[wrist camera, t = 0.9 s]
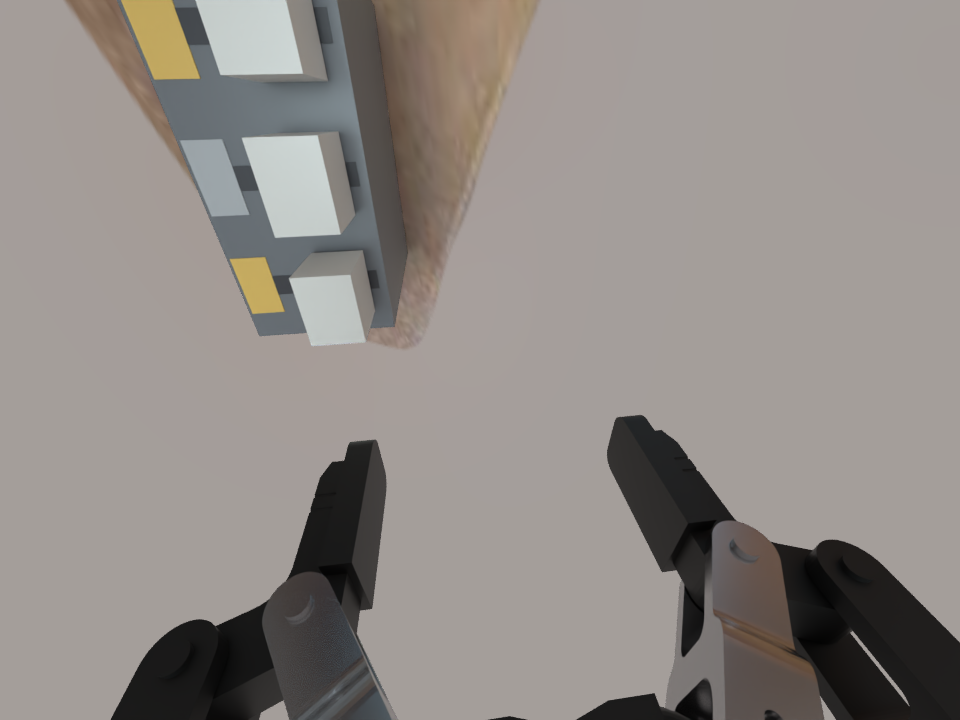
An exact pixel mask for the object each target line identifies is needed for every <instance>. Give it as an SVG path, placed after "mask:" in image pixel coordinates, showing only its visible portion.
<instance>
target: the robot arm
mask: <svg viewBox="0 0 960 720" xmlns="http://www.w3.org/2000/svg"><path fill="white" fill-rule="evenodd" d="M607 458H608V464H609V467H610V469H611V471H612V473H613V475H614V477H615V479H616V481H617V483H618V485H619V487H620V489H621V491H622V493H623V495H624V497H625V499H626V501H627V503H628V505H629V507H630V509H631V511H632V513H633V515H634V517H635V519H636V521H637V523H638V525H639V527H640V529H641V531H642V533H643V535H644V537H645V539H646V541H647V543H648V545H649V547H650V549H651V551H652V553H653V555H654V557H655V559H656V561H657V563H658V565H659V567H660V569H661V571H662V572H667V571H673V570H677V571H678V573H679V575H680V577H681V579H682V581H681V583H680V587H679V602H678V619H677V632H676V648H675V660H674V665H673V669H672V672H671V675H670V678H669V683H668V688H667V695H666V708H664V707H660V706H659V704H658V701H657V699H656V696H655V694H654V693H653V694H647V695H641V696H634V697H628V698H622V699H615V700H609V701H607V702H605V703H604V704H602V705H600V706H598V707H597V708H596V709H593V710H592V711H590V712H588V713H587V714H585V715H583V716H582V717H580V718H578V719H577V720H824V715H823V710H822V704H821V699H820V696H821V698H822V699H823V701H824V702H825V703H826V705H827V707H828V708H829V710H830V711H831V712H832V714H833V715H834V717H835V719H836V720H960V642H959V641H958V640H957V639H956V638H955V637H953V635H952V634H951V633H950V632H949V631H948V630H947V629H946V628H945V627H944V626H943V625H942V624H941V623H940V622H939V621H938V620H937V619H936V618H935V617H934V616H933V615H931V613H930V612H929V611H928V610H927V609H926V608H925V607H924V606H923V605H922V604H921V603H920V602H919V601H918V600H917V599H916V598H915V597H914V596H913V595H912V594H911V593H910V592H909V591H908V590H907V589H906V588H905V587H904V586H903V585H902V584H901V583H900V582H899V581H898V580H897V579H896V578H895V577H894V576H893V575H892V574H891V573H890V572H889V571H888V570H887V569H886V568H885V567H884V566H883V565H882V564H881V563H880V562H879V561H878V560H876V559H875V558H874V557H872V556H871V555H870V554H868V553H866V552H865V551H863V550H861V549H860V548H858V547H856V546H854V545H851V544H849V543H846V542H843V541H839V540H825V541H822V542H821V543H819V545H818V546H817V547H816V548H815V549H814V550H808V549H803V548H798V547H792V546H787V545H783V544H777V543H773V542H770V541H769V540H768V539H767V538H766V537H765V536H764V535H763V534H762V533H760V532H759V531H757V530H756V529H754V528H752V527H750V526H749V525H746V524H744V523H741V522H737V521H736V520H735V519H734V518H733V516H732V515H731V514H730V513H729V511H728V510H727V508H726V507H725V506H724V505H723V503H722V502H721V500H720V499H719V498H718V497H717V495H716V494H715V492H714V491H713V490H712V488H711V487H710V486H709V484H708V483H707V482H706V480H705V479H704V478H703V476H702V475H701V474H700V472H699V471H697V470H696V467H695V466H694V464H693V463H692V461H691V460H690V459H688V457H687V455H686V453H685V452H684V451H683V449H682V448H681V447H680V445H679V444H678V443H677V442H676V441H675V440H674V439H672V438H671V437H670V436H668V435H667V434H666V433H664V432H663V431H662V430H658V431H655V430H654V429H653V428H652V426H651V425H650V423H649V422H648V421H647V419H646V418H645V417H644V416H642V415H636V416H627V417H618V418H616V420H615V422H614V426H613V430H612V434H611V438H610V442H609V446H608V450H607ZM385 497H386V474H385V469H384V465H383V462H382V458H381V454H380V450H379V447H378V443H377V441H376V440H367V441H357V442H350V443H349V445H348V448H347V453H346V457H345V460H344V461H338V462H332V463H331V464H330V465H329V467H328V468H327V469H326V471H325V472H324V473H323V475H322V476H321V477H320V480H319V483H318V486H317V490H316V493H315V498H314V499H313V503H312V506H311V512H310V513H309V516H308V519H307V522H306V526H305V529H304V532H303V536H302V539H301V542H300V545H299V548H298V552H297V555H296V558H295V562H294V565H293V568H292V570H291V573H290V575H289V577H288V579H287V580H286V582H284V583H283V584H282V585H281V586H279V587H278V588H277V590H276V591H275V592H274V593H273V594H272V596H271V597H270V599H269V600H268V601H267V602H265V603H263V604H262V605H260V606H258V607H256V608H255V609H253V610H250V611H249V612H246V613H244V614H241V615H239V616H237V617H235V618H233V619H230V620H228V621H226V622H224V623H222V624H220V625H217V626H214V625H213V624H212V623H211V622H209V621H207V620H200V619H199V620H192V621H188V622H186V623H183V624H181V625H179V626H178V627H176V628H174V629H172V630H171V631H169V632H168V633H167V634H166V635H164V636H163V637H162V638H161V639H160V640H159V641H158V642H157V643H155V645H154V646H153V647H152V648H151V649H150V650H149V651H148V653H147V654H146V656H145V657H144V658H143V660H142V662H141V663H140V665H139V667H138V669H137V671H136V672H135V675H134V676H133V678H132V680H131V682H130V684H129V686H128V688H127V690H126V692H125V693H124V695H123V697H122V699H121V701H120V703H119V705H118V707H117V708H116V710H115V712H114V714H113V716H112V718H111V720H259V717H260V713H261V712H263V711H264V710H266V709H268V708H270V707H272V706H274V705H275V704H277V703H279V702H281V701H283V700H284V703H285V706H286V710H287V713H288V717H289V720H398V719H397V717H396V715H395V713H394V711H393V709H392V707H391V705H390V703H389V701H388V698H387V696H386V694H385V692H384V690H383V688H382V686H381V684H380V681H379V679H378V677H377V675H376V673H375V671H374V669H373V667H372V665H371V662H370V660H369V658H368V656H367V654H366V652H365V650H364V648H363V645H362V643H361V641H360V639H359V637H358V635H357V627H358V620H359V613H360V610H366V609H372V605H373V597H374V589H375V581H376V572H377V564H378V556H379V546H380V539H381V531H382V522H383V514H384V505H385ZM852 631H853V632H854V633H855V634H856V635H857V636H858V638H859V639H860V640H861V641H862V643H863V644H864V645H865V646H866V647H867V649H868V650H869V651H870V652H871V654H872V655H873V656H874V657H875V659H876V660H877V661H878V662H879V664H880V665H881V666H882V667H883V669H884V670H885V671H886V672H887V673H888V675H889V676H890V677H891V678H892V680H893V681H894V682H895V683H896V684H897V686H898V687H899V688H900V690H901V691H902V692H903V694H904V695H905V697H906V699H907V701H908V703H909V705H910V707H909V706H908V704H907V703H906V702H905V701H904V700H903V698H902V697H901V696H900V695H899V693H898V692H897V691H896V690H895V688H894V687H893V686H892V685H891V683H890V682H889V681H888V680H887V678H886V677H885V676H884V675H883V673H882V672H881V671H880V670H879V668H878V667H877V666H876V665H875V663H874V662H873V661H872V660H871V659H870V657H869V656H868V655H867V653H865V651H864V650H863V648H862V647H861V646H860V645H859V644H858V642H857V641H856V640H855V638H854V637H853V636H852V635H851V634H850V632H852ZM490 720H526V719H520V718H516V717H511V716H508V717H502V718H496V719H490Z"/></svg>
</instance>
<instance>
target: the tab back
mask: <svg viewBox="0 0 960 720" xmlns="http://www.w3.org/2000/svg"><path fill="white" fill-rule="evenodd" d="M289 280H290V283H291V286H292V289H293V292H294V295H295V298H296V301H297V304H298V307H299V310H300V313H301V316H302V319H303V322H304V325H305V328H306V331H307V334H308V337H309V340H310V343H311V346H322V345H335V344H349V343H363V342H366V340H367V337H368V334H369V330H370V327H371V323H372V320H373V316H374V313H375V308H374V303H373V298H372V293H371V288H370V283H369V278H368V273H367V269H366V264H365V259H364V254H363V250H358V251H339V252H321V253H311V254H310V255H309V256H308V257H307V258H306V259H305V260H304V262H303V263H302V264H301V265H300V266H299V267H298V269H297V270H296V271H295V272H294V273H293V274H292V275H291V277H290V278H289Z"/></svg>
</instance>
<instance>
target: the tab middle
mask: <svg viewBox="0 0 960 720" xmlns="http://www.w3.org/2000/svg"><path fill="white" fill-rule="evenodd" d="M242 141H243V144H244V146H245V149H246V152H247V155H248V158H249V161H250V164H251V167H252V170H253V173H254V176H255V179H256V182H257V185H258V188H259V191H260V194H261V197H262V200H263V203H264V206H265V209H266V212H267V215H268V218H269V221H270V224H271V227H272V230H273V233H274V236H275V238H281V237H301V236H321V235H341V234H342V232H343V231H344V230H345V228H346V227H347V226H348V224H349V223H350V222H351V220H352V219H353V218H354V216H355V210H354V205H353V200H352V195H351V191H350V186H349V181H348V176H347V171H346V166H345V161H344V156H343V152H342V147H341V142H340V137H339V132H338V131H334V132H299V133H274V134H266V135H258V136H250V137H243V138H242Z"/></svg>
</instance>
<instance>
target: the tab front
mask: <svg viewBox="0 0 960 720" xmlns="http://www.w3.org/2000/svg"><path fill="white" fill-rule="evenodd" d="M195 1H196V4H197V7H198V10H199V13H200V16H201V18H202V21H203V24H204V27H205V30H206V33H207V36H208V39H209V42H210V45H211V48H212V51H213V54H214V57H215V60H216V63H217V66H218V69H219V72H220V75H223V76H229V77H234V78H240V79H245V80H251V81H257V82H314V81H328V78H327V74H326V69H325V64H324V59H323V54H322V49H321V44H320V39H319V35H318V30H317V25H316V20H315V15H314V10H313V5H312V0H195Z"/></svg>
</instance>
